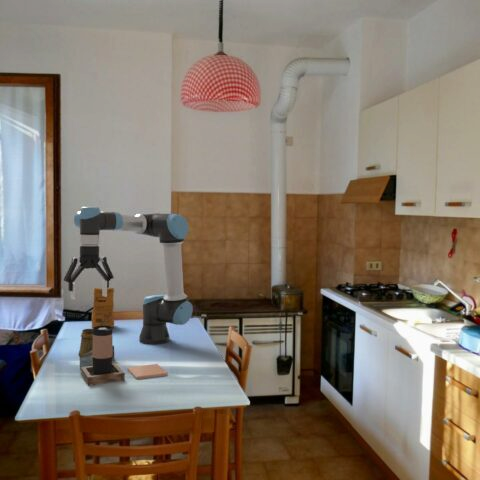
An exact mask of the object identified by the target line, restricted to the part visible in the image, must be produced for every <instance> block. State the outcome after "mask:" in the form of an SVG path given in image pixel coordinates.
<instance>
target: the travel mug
mask: <svg viewBox="0 0 480 480" xmlns="http://www.w3.org/2000/svg"><path fill="white" fill-rule="evenodd" d="M92 329H93V374H92V376H94V375H102V374H110V373H113V372H112V363H113V360H112V355H113V349H112V346H113V328H112V327H111V326H96V327H93V328H92Z"/></svg>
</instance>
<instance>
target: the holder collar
mask: <svg viewBox="0 0 480 480" xmlns="http://www.w3.org/2000/svg"><path fill="white" fill-rule="evenodd" d="M125 374H126V373H125V371H124V370H123V369H122V368H121V367H120V366H119V365H118V364H117V363H116V362H112V373H110V374H102V375H94V376H93V366H87V367H81V370H80V375H81V377H82V378H83V379H84V382H85V383H86V384H87V385H88V386H93V385H101V384H107V383H116V382H117V383H118V382H123V381H126V380H125V379H126V378H125V377H126V375H125Z"/></svg>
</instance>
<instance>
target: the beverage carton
mask: <svg viewBox="0 0 480 480" xmlns="http://www.w3.org/2000/svg"><path fill="white" fill-rule="evenodd" d="M112 349H113V355H112V361H114V360H115V346H114V345H112ZM87 366H93V349H92V350H91V351H89V352H88V353H86V354H84V355H83V356H79V371H81V367H87Z"/></svg>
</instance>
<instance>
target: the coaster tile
mask: <svg viewBox="0 0 480 480" xmlns="http://www.w3.org/2000/svg"><path fill="white" fill-rule="evenodd" d="M126 369H127V372H129V373H130V375H132V377H134V379H135V380H142V379H149V378H157V377H163V376H168V375H169V374H168V371H166V370H165V369H164V368H163V367H161V365H159V364H158V363H155V364H146V365H145V364H144V365H139V366H138V365H137V366H130V367H129V366H128V367H127V368H126Z"/></svg>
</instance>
